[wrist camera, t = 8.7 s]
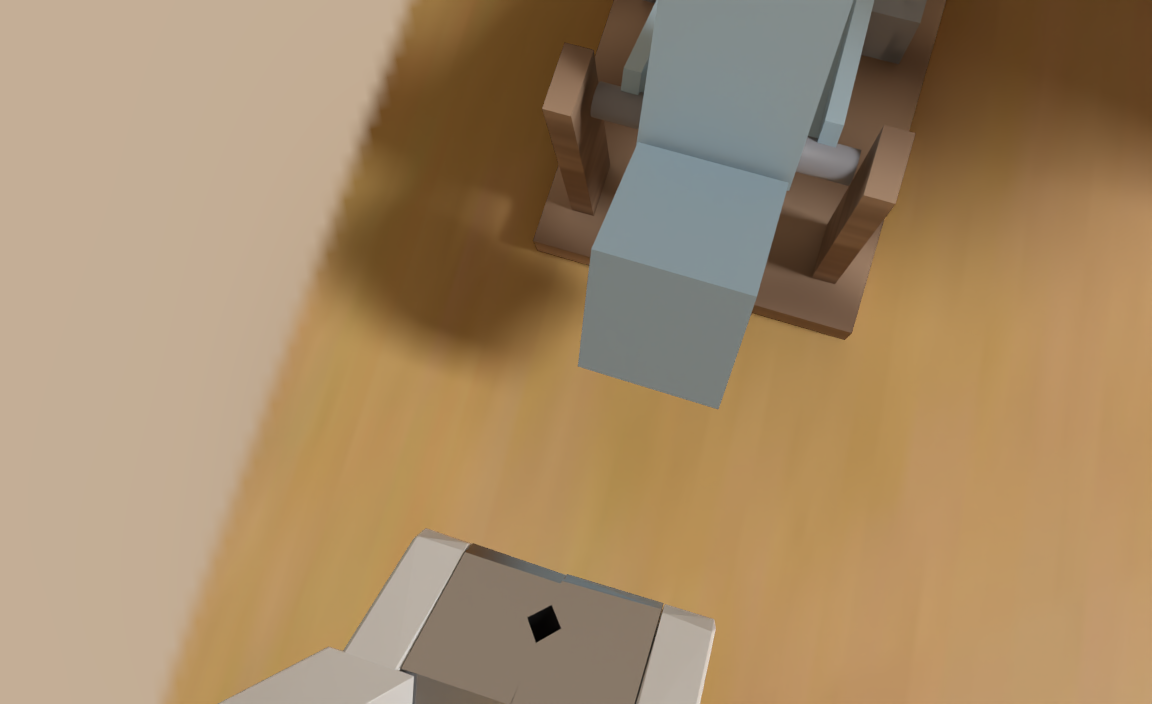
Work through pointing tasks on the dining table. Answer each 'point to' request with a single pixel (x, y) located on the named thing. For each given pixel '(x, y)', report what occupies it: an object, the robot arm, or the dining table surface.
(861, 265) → the walnut lever base
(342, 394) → the dining table surface
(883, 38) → the bin
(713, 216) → the tipping lever
